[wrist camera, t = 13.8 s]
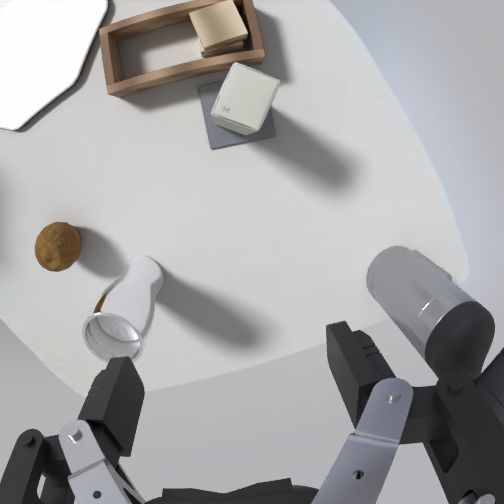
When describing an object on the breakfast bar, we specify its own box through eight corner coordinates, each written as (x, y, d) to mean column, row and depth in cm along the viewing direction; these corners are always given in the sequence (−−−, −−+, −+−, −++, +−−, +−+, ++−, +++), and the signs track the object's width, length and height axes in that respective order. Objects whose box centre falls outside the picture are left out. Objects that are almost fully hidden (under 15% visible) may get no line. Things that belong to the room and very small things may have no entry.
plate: (6, -30, 20) (2, -33, 19) (137, -37, 26) (135, -41, 25) (-50, 116, 29) (-55, 116, 27) (63, 141, 34) (58, 141, 33)
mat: (263, 75, 34) (263, 74, 34) (275, 136, 37) (275, 136, 37) (198, 87, 34) (197, 86, 34) (210, 148, 37) (210, 148, 36)
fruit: (63, 206, 37) (34, 222, 30) (96, 232, 39) (72, 253, 32) (47, 240, 39) (19, 261, 31) (78, 265, 40) (54, 290, 33)
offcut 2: (235, 16, 31) (236, 9, 29) (242, 49, 33) (243, 44, 30) (195, 23, 31) (194, 16, 28) (202, 56, 33) (200, 51, 30)
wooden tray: (247, 4, 30) (250, -9, 26) (261, 64, 33) (265, 56, 30) (109, 37, 30) (98, 29, 26) (118, 97, 33) (107, 94, 29)
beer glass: (110, 276, 41) (69, 337, 27) (138, 242, 40) (101, 297, 26) (147, 306, 44) (122, 376, 30) (177, 276, 42) (158, 342, 28)
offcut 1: (231, 6, 28) (231, -2, 26) (246, 39, 30) (247, 32, 28) (191, 20, 29) (189, 13, 26) (205, 53, 30) (204, 47, 28)
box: (247, 136, 36) (258, 136, 24) (213, 123, 35) (207, 117, 23) (263, 98, 35) (283, 80, 23) (230, 84, 34) (233, 60, 22)
